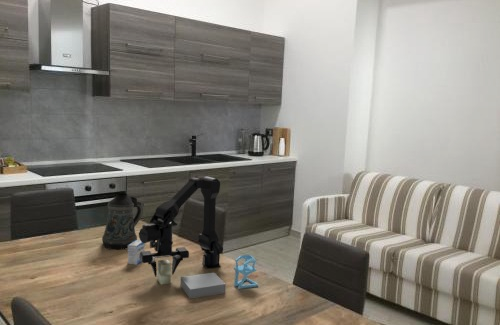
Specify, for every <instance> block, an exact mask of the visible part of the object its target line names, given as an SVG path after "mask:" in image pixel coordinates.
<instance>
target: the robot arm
mask: <svg viewBox="0 0 500 325" xmlns="http://www.w3.org/2000/svg"><path fill="white" fill-rule="evenodd" d="M198 189H200V192H201V195H202V197H203V229H202V231H201V233H199V234H198V236H197V237H198V241H197V243H198V244H199V247H200V249H201V251H203V255H202V265H203V266H205V268H207V269H212V268H219V267H221V264H220V255H221V254H223V251H224V247H223V246H222V245H221V244H220V242H219V236H218V233H217V232H216V200H217V197H218V196H219V193H220V190H221V181H220V180H219V179H218V178H215V177H210V176H204V177H190V178H189V180H188V182H187V183H185V184H184V185H183V187H182V188H181V189H180V190H179V191H178V192H177V193H176V194H174V196H173V197H172V198H171V199H169V200H167V201H165V202H163V203H161V204H160V205H158V206H157V208H155V213H154V214H153V216H152V217H151V218H150V221H149V223H148V224H142V226H141V227H142V228H140V229H139V232H138V239H139V240H141V242H142V243H145V244H147V243H149V248H150V249H154V250H155V252H154V253H153V252H151V251H150V250H145V251H143V252H141V253H140V254H139V258H140V260H141V262H140V263H142V264H148V265H150V267H151V268H152V272H153V275H154V277H155V278H157V276H158V267H157V262H156V260H155V259H159V258H169V257H172V264H171V276H173V275H174V274H175V272H176V270H177V268H178V266H179V265H180V263H181V262H182V261H184V259H188V258H190V251H189V250H188V249H187V248H186V247H185V246H182V247H176V248H175V250H173V244H174V243H173V242H174V241H173V227H175V226H177V225H178V223H177V222H175V221H174V220H175V219H176V217H177V216H178V215H179V213H180V209H181V207H182V206H183V205H184V204H185V203H186V202H187V201H188V200H189V199H190V198H191V197H192V196H193V195H194V194H195V193H196V192H197V191H198Z"/></svg>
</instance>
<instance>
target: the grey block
mask: <svg viewBox="0 0 500 325" xmlns="http://www.w3.org/2000/svg"><path fill="white" fill-rule="evenodd" d="M180 287H181V288H182V290H183V291H184V293H185V294H186V295H187V297H188V298H189V299H195V298H202V297H209V296H214V295H215V296H216V295H221V294H226V283H225V282H224V281H223V280H222V278H220V277H219V276H218V275H217V273H216V272H208V273H207V272H206V273H201V274H199V273H198V274H194V275H187V276H181V277H180Z"/></svg>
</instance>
